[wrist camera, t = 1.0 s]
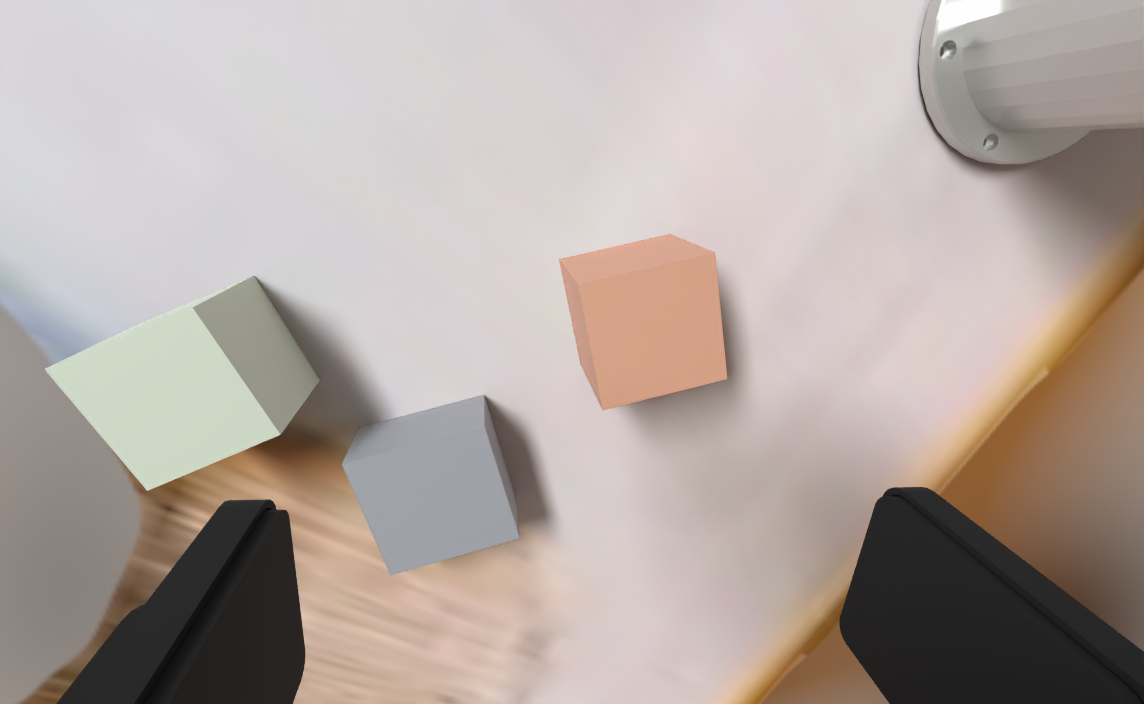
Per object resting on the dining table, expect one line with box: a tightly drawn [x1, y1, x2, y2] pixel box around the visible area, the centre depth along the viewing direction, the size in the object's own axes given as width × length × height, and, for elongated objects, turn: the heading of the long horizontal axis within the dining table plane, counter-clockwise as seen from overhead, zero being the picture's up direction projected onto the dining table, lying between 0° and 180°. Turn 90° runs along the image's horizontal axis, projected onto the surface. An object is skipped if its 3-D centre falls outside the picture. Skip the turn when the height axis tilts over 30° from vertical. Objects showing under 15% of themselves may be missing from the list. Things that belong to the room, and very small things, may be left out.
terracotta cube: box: [559, 234, 727, 410], centre depth 27 cm, size 6×6×6 cm
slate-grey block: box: [342, 395, 520, 575], centre depth 29 cm, size 7×7×4 cm
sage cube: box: [45, 276, 320, 491], centre depth 24 cm, size 6×6×6 cm
